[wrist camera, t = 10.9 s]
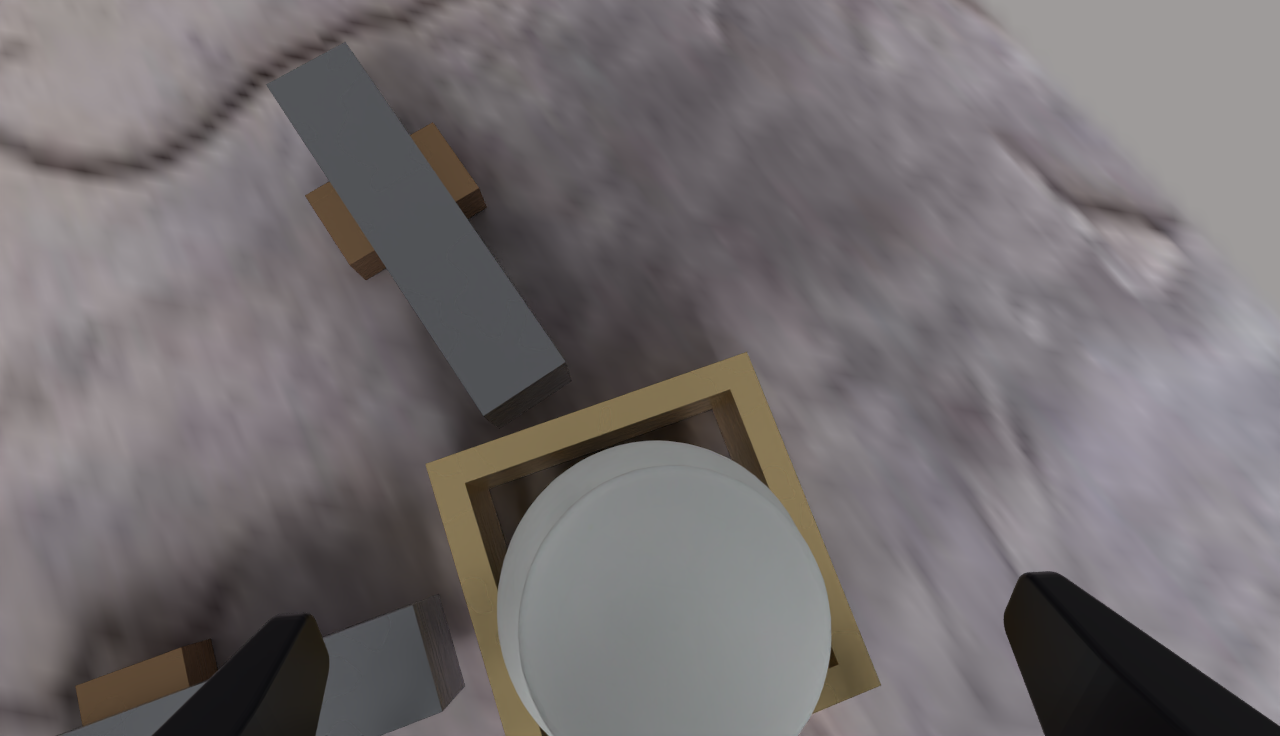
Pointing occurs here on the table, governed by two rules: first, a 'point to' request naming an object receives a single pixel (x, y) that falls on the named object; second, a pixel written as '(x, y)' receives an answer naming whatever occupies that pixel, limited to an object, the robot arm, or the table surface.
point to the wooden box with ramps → (502, 390)
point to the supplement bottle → (663, 601)
